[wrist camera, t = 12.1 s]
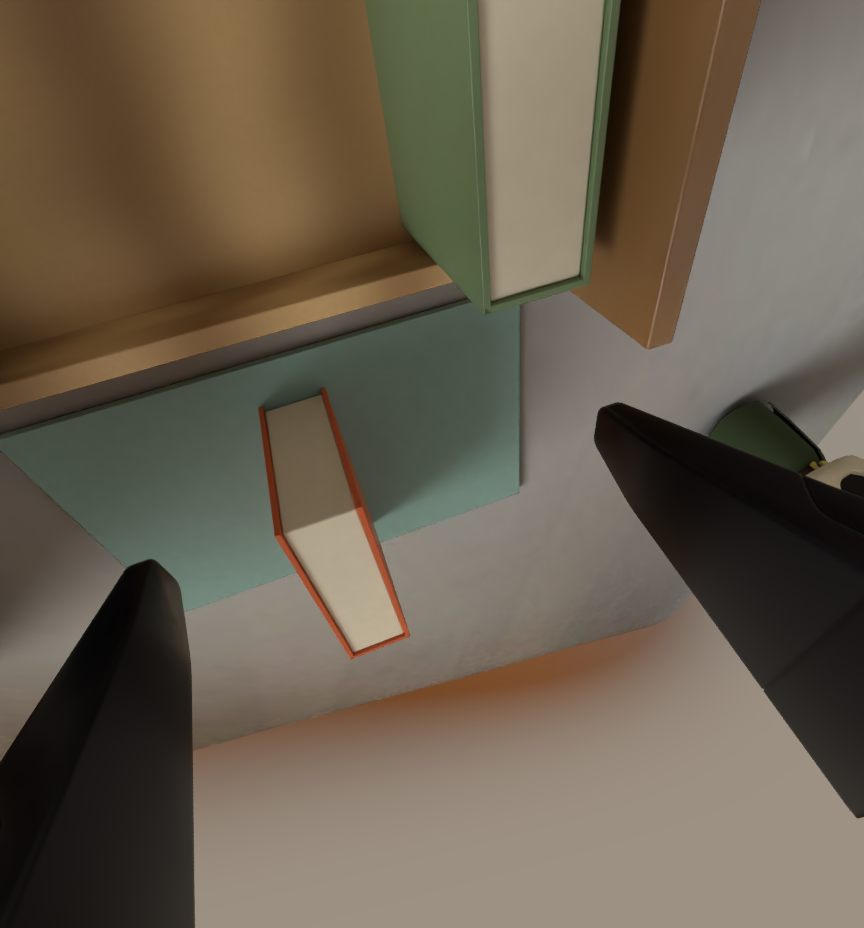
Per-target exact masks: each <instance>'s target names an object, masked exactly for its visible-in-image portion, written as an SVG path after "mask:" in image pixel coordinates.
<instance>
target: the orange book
mask: <svg viewBox="0 0 864 928" xmlns="http://www.w3.org/2000/svg"><path fill="white" fill-rule="evenodd" d="M321 392H322V395H323V396H322V395H319V396H315V397H312V398H309V399H306V400H302V401H299V402H296V403H293V404H289V405H286V406H283V407H280V408H276V409H273V410H270V411H267V412H265V410H264V408H263V406H261V407H258V410H259V418H260V426H261V433H262V441H263V449H264V457H265V465H266V472H267V480H268V488H269V496H270V504H271V512H272V519H273V527H274V535H275V538H276V539H277V541H278V543H279V544H280V546H281V548H282V549H283V551H284V552H285V554H286V556H287V557H288V559H289V560H290V562H291V564H292V565H293V567H294V568H295V570H296V572H297V573H298V575H299V577H300V578H301V580H302V581H303V583H304V585H305V586H306V588H307V589H308V591H309V593H310V594H311V596H312V597H313V599H314V601H315V602H316V604H317V606H318V607H319V609H320V610H321V612H322V614H323V615H324V617H325V618H326V620H327V622H328V623H329V625H330V626H331V628H332V630H333V631H334V633H335V635H336V636H337V638H338V639H339V641H340V643H341V644H342V646H343V647H344V649H345V651H346V652H347V654H348V655H349V657H350V659H353V658H356V657H358V656H361V655H363V654H366V653H368V652H371V651H374V650H376V649H379V648H381V647H384V646H386V645H389V644H391V643H394V642H397V641H399V640H402V639H404V638H407V637H409V636H410V634H409V631H408V628H407V624H406V621H405V618H404V615H403V612H402V609H401V606H400V603H399V600H398V597H397V594H396V591H395V588H394V585H393V581H392V578H391V575H390V572H389V569H388V566H387V563H386V560H385V557H384V554H383V551H382V548H381V545H380V542H379V538H378V535H377V532H376V529H375V526H374V523H373V520H372V518H371V515H370V512H369V509H368V506H367V504H366V501H365V498H364V495H363V492H362V490H361V487H360V484H359V481H358V478H357V476H356V473H355V470H354V467H353V464H352V462H351V459H350V456H349V453H348V450H347V448H346V445H345V442H344V439H343V437H342V434H341V431H340V428H339V425H338V423H337V420H336V417H335V414H334V411H333V409H332V406H331V403H330V400H329V397H328V395H327V392H326V389H325V387H323V388H321Z"/></svg>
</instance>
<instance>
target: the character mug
mask: <svg viewBox="0 0 864 928" xmlns="http://www.w3.org/2000/svg"><path fill="white" fill-rule="evenodd" d="M768 403H769V404H770V405H771V406H772V408H773V410H774V411H773V412H772V411H771V410H769V409H768V408H767V407H766V406H764V405H763V404H762V403H761V402H760V401H754V402H751V403H749V404H746V405H743V406H741V407H738V408H737V409H736V410H734V411H733V412H731V413H730V414H729V415H727V416H726V417H724V418H723V419H721V421H720V422H719V423H718V425H717V426H716V428H715V429H714V430H713V432H712V433H711V435H710V436H709V438H712V439H714V440H717V441H719V442H722V443H724V444H727V445H729V446H732V447H734V448H737V449H739V450H742V451H745V452H747V453H750V454H752V455H755V456H757V457H760V458H762V459H765V460H767V461H770V462H772V463H775V464H777V465H780V466H782V467H785V468H787V469H790V470H792V471H795V472H797V473H800V474H801V475H802V476H808V477H810V478H813V479H815V480H818V481H820V482H823V483H826V484H828V485H831V486H833V487H836V488H839V489H841V490H844V491H847V492H849V493H852V494H855V495H857V496H860V497H863V498H864V459H861V458H859V457H856V456H853V455H850V456H845V457H842V458H839V459H836V460H834V461H832V462H829V463H828V462H827V461H826V459H825V457H824V455H823V454H822V452H821V450H820V449H819V448H818V447H817V446H816V445H815V444H814V443H813V442H812V441H811V440H810V439H809V438H808V437H807V436H806V435H805V434H804V433H803V432H802V431H801V430H800V429H799V428H798V427H797V426H796V425H795V424H794V423H793V422H792V421H791V420H790V419H789V418H788V417H786V416H785V415H784V414H783V413H782V412H781V411H779V410H778V409H777V408H776V407H775V406H774V405H773V404H771V403H770V402H768Z"/></svg>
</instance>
